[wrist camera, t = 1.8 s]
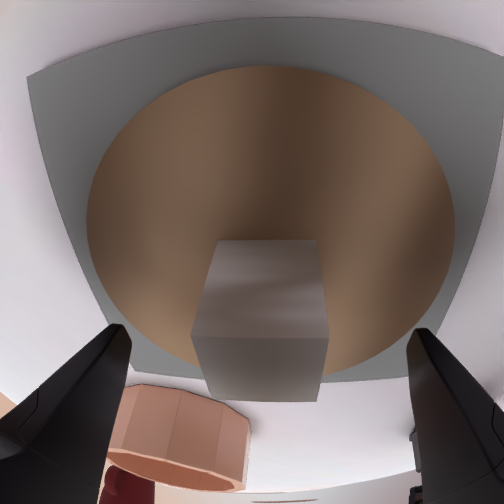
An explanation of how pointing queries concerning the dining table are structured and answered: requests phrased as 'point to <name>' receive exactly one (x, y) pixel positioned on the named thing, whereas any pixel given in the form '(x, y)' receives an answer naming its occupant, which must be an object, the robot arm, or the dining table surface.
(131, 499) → the mug
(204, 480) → the bowl
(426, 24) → the dining table surface
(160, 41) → the mat
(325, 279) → the lid
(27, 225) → the dining table surface
